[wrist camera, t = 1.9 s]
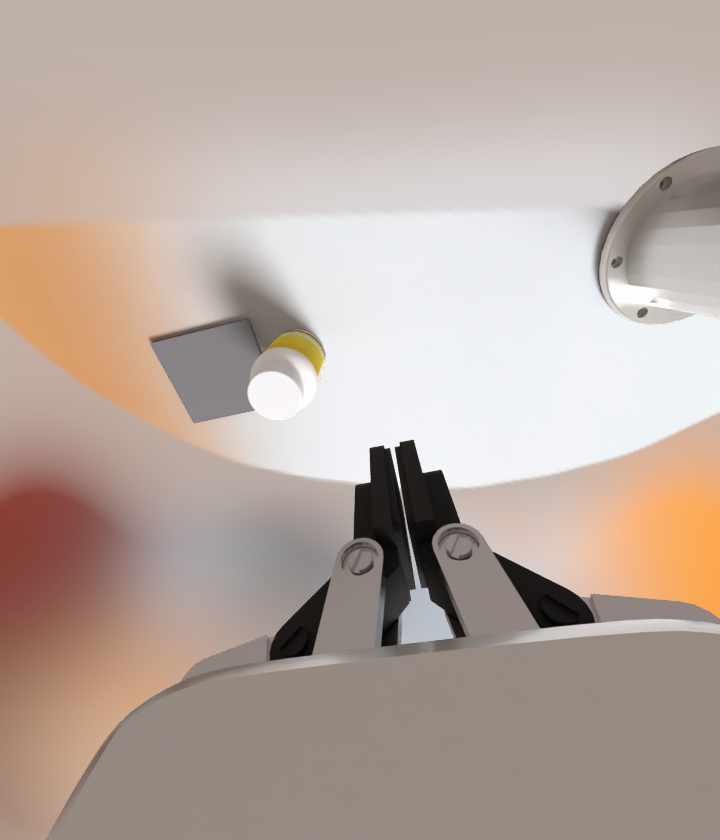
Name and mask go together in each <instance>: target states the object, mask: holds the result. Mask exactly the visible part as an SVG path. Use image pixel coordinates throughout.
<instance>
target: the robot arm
mask: <svg viewBox="0 0 720 840" xmlns="http://www.w3.org/2000/svg"><path fill="white" fill-rule="evenodd" d="M599 273H600V285H601V289H602V293H603V296H604V297H605V299H606V301H607V303H608V305H609V306H610V307H611V308H612V309H613V310H614V311H615V312H616V313H617V314H619V315H621V316H622V317H624V318H626V319H629V320H632V321H635V322H639V323H645V324H666V323H671V322H676V321H680V320H682V319H685V318H688V317H690V316H693V315H695V314H697V315H702V316H707V317H712V318H717V319H720V146H717V147H711V148H708V149H704V150H701V151H698V152H695V153H691V154H689V155H687V156H685V157H683V158H680V159H679V160H676V161H674V162H672V163H671V164H670V165H668V166H666V167H665V168H663V169H662V170H660V171H659V172H657V173H656V174H655V175H654V176H653V177H651V178H650V179H649V180H648V181H647V182H646V183H645V184H643V185H642V186H641V187H640V188H639V189H638V190H637V192H636V193H635V194H634V195H633V196H632V197H631V199H630V200H629V201H628V202H627V203H626V205H625V206H624V207H623V209H622V210H621V212H620V213H619V215H618V216H617V218H616V219H615V221H614V223H613V225H612V227H611V229H610V231H609V233H608V235H607V238H606V241H605V244H604V247H603V250H602V254H601V261H600V267H599ZM395 452H396V458H397V465H398V471H399V477H400V483H401V489H402V495H403V501H404V507H405V514H406V519H407V525H408V530H409V534H410V538H411V543H412V548H413V552H414V557H415V561H416V565H417V570H418V575H419V579H420V583H421V588H428V590H429V594H430V599H431V601H432V602H434V603H435V604H437V605H438V606H439V607H441V608H442V609H444V612H445V616H446V619H447V621H448V624H449V627H450V629H451V632H452V634H453V637H454V638H453V639H446V640H437V641H428V642H420V643H411V644H403V645H401V636H402V618H401V617H402V616H401V613H402V612H403V610H404V609H405V608H406V607H407V605H408V604H409V601H411V598H410V590H412V589H415V581H414V575H413V568H412V562H411V556H410V549H409V543H408V537H407V530H406V524H405V517H404V511H403V505H402V500H401V496H400V491H399V487H398V482H397V478H396V473H395V469H394V464H393V460H392V455H391V451H390V448H388V449H385V448H384V445H383V446H378V447H373V448H370V474H371V482H370V483H365V484H359V485H356V486H355V511H354V540H352V541H350V542H348V543H347V544H346V545H344V546H343V547H342V548H341V550H340V551H339V552H338V555H337V557H336V560H335V564H334V568H333V572H332V576H331V578H330V579H329V580H328V581H327V582H326V583H325V584H324V585H323V586H322V587H321V588H320V589H319V590H318V591H317V592H316V593H315V594H314V595H313V596H312V597H311V598H310V599H309V600H308V601H307V602H306V603H305V604H304V605H303V606H302V607H301V608H300V609H299V610H298V611H297V612H296V613H295V614H294V615H293V616H292V617H291V618H290V619H289V620H288V621H287V622H286V623H285V624H284V625H283V626H282V628H281V629H280V630H279V631H278V632H277V634H276V635H275V636H273V637H271V638H268V636H267V635H265V636H263V637H260V638H258V639H255V640H253V641H250V642H247V643H245V644H242V645H240V646H237V647H234V648H232V649H229V650H227V651H224V652H221V653H219V654H216V655H213V656H211V657H208V658H206V659H203V660H202V661H200V662H198V663H197V664H195V665H194V666H193V667H192V668H191V669H190V670H189V671H188V672H187V673H186V675H185V676H184V678H183V679H182V681H181V682H179V683H177V684H175V685H173V686H171V687H169V688H167V689H165V690H164V691H162V692H160V693H158V694H157V695H155V696H153V697H151V698H150V699H148V700H147V701H145V702H144V703H143V704H141V705H140V706H138V707H137V708H136V709H134V710H133V711H132V712H131V713H130V714H128V715H127V716H126V717H125V718H124V719H123V720H122V721H121V722H120V723H119V724H118V725H117V727H116V728H115V729H114V730H113V731H112V732H111V734H110V735H109V736H108V737H107V739H106V740H105V742H104V743H103V744H102V746H101V747H100V748H99V750H98V751H97V753H96V754H95V756H94V758H93V759H92V760H91V762H90V764H89V766H88V767H87V769H86V770H85V772H84V774H83V775H82V777H81V779H80V780H79V782H78V784H77V785H76V787H75V789H74V790H73V792H72V794H71V796H70V797H69V799H68V801H67V803H66V804H65V806H64V808H63V810H62V811H61V813H60V815H59V817H58V818H57V820H56V822H55V824H54V826H53V827H52V829H51V831H50V833H49V835H48V837H47V838H46V840H720V619H719V618H717V617H716V616H714V615H713V614H712V613H711V612H709V611H707V610H705V609H703V608H700V607H698V606H696V605H693V604H689V603H684V602H679V601H668V600H655V599H645V598H633V597H622V596H609V595H598V594H591V596H590V598H585V597H579V596H578V595H576V594H575V593H573V592H571V591H570V590H568V589H566V588H564V587H562V586H560V585H558V584H556V583H554V582H552V581H550V580H548V579H546V578H544V577H542V576H540V575H538V574H536V573H534V572H532V571H530V570H528V569H526V568H524V567H522V566H520V565H518V564H516V563H514V562H512V561H510V560H508V559H506V558H504V557H502V556H500V555H498V554H496V553H494V552H492V550H491V549H490V547H489V546H488V544H487V542H486V541H485V539H484V538H483V536H482V535H481V534H480V533H479V531H477V530H476V529H475V528H473V527H471V526H469V525H466V524H461V523H460V520H459V517H458V515H457V512H456V509H455V506H454V503H453V501H452V498H451V495H450V493H449V489H448V486H447V484H446V481H445V478H444V475H443V473H442V471H441V470H438V471H432V472H427V473H422V470H421V466H420V462H419V458H418V455H417V451H416V447H415V443H414V440H410V441H404V442H400V446H398V447H395Z"/></svg>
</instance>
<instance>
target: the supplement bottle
mask: <svg viewBox="0 0 720 840" xmlns="http://www.w3.org/2000/svg"><path fill="white" fill-rule="evenodd" d="M325 363H326V353H325V350H324V347H323V345H322V343H321V342H320V341H319V339H318V338H317V337H315V336H314V335H313V334H311V333H309V332H307V331H304V330H289V331H286V332H284V333H282V334H281V335H279V336H278V337H277V338H276V339H275V340H274V341H273V342H272V343H271V344H270V345H269V346H268V347H267V348H266V349H265V350H264V351H263V352H262V353H261V354H260V355H259V357H258V358H257V359H256V361H255V362H254V364H253V366H252V369H251V373H250V382H249V385H248V389H247V395H248V399H249V402H250V404H251V406H252V407H253V408H254V410H255V411H256V412H258V413H259V414H260V415H262V416H264V417H266V418H269V419H273V420H284V419H287V418H290V417H292V416H293V415H294V414H295V413H297V411H298V410H299V409H301V408H303V407H305V406H306V405H307V404H308V403H309V402H310V401H311V400H312V399H313V397H314V395H315V393H316V390H317V388H318V385H319V382H320V379H321V376H322V373H323V370H324V368H325Z"/></svg>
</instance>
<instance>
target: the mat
mask: <svg viewBox="0 0 720 840" xmlns="http://www.w3.org/2000/svg"><path fill="white" fill-rule="evenodd" d="M151 346H152V348H153V350H154V352H155V353H156V355H157V357H158V359H159V361H160V362H161V364H162V366H163V368H164V370H165V372H166V373H167V375H168V377H169V379H170V381H171V383H172V384H173V386H174V388H175V390H176V392H177V393H178V395H179V397H180V399H181V401H182V403H183V404H184V406H185V408H186V410H187V412H188V413H189V415H190V417H191V419H192V421H193V423H198V422H202V421H207V420H212V419H217V418H221V417H226V416H231V415H236V414H240V413H245V412H250V411H254V408H253V407H252V406H251V404H250V402H249V399H248V395H247V389H248V385H249V382H250V373H251V369H252V366H253V364H254V362H255V361H256V359H257V358H258V357H259V355H260V354H261V353H262V352H261V349H260V347H259V344H258V341H257V339H256V336H255V334H254V331H253V328H252V326H251V323H250V321H249V319H245V320H241V321H237V322H233V323H229V324H225V325H221V326H217V327H213V328H209V329H205V330H201V331H197V332H193V333H189V334H185V335H181V336H177V337H173V338H169V339H165V340H160V341H156V342H153V343H151Z"/></svg>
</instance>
